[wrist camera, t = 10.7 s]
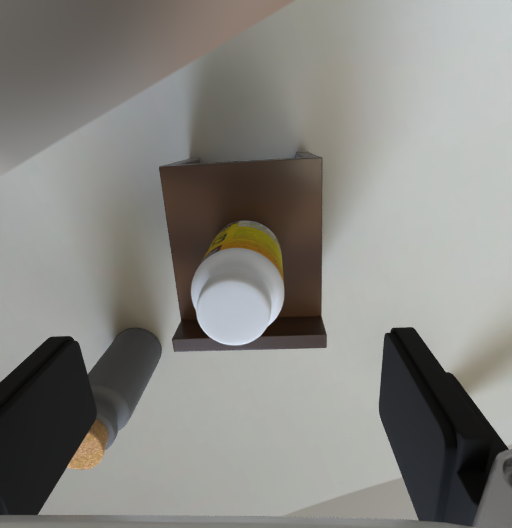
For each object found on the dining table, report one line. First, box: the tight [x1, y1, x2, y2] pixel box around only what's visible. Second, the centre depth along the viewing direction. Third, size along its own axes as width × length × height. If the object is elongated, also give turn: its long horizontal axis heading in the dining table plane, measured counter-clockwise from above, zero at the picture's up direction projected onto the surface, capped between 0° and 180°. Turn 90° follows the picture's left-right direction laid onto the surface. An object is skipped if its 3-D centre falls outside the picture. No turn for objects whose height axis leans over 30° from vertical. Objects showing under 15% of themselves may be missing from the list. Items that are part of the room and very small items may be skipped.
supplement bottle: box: [191, 221, 284, 345], centre depth 23 cm, size 6×6×10 cm
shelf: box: [159, 152, 327, 352], centre depth 31 cm, size 14×12×13 cm
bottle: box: [67, 328, 161, 469], centre depth 36 cm, size 6×6×15 cm
